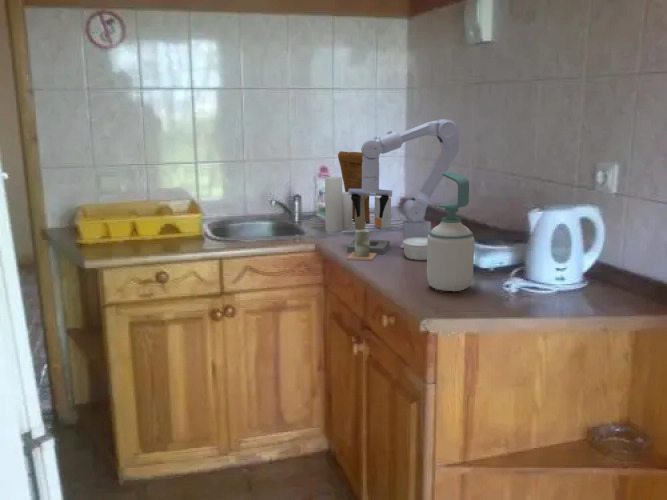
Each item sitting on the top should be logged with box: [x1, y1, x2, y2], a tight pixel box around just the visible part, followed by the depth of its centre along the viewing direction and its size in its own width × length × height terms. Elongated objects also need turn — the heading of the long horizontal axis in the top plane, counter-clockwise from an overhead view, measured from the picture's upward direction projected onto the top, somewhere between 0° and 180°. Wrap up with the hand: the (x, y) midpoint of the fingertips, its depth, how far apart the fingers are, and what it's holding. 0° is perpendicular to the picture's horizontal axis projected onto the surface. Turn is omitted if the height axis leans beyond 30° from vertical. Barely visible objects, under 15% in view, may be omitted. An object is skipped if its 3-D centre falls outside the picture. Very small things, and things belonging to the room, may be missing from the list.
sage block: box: [354, 228, 371, 257], centre depth 219 cm, size 4×4×8 cm
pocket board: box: [346, 239, 391, 255], centre depth 230 cm, size 12×12×2 cm
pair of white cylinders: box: [324, 176, 354, 233], centre depth 261 cm, size 11×7×20 cm, turn 135°
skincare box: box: [374, 196, 392, 230], centre depth 265 cm, size 6×4×12 cm
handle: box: [351, 193, 368, 231], centre depth 253 cm, size 5×6×15 cm
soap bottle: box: [426, 170, 475, 290], centre depth 182 cm, size 12×12×31 cm
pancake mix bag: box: [337, 151, 371, 223], centre depth 277 cm, size 7×19×28 cm, turn 32°
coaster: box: [346, 252, 378, 262], centre depth 220 cm, size 8×8×1 cm
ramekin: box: [402, 237, 428, 261], centre depth 219 cm, size 11×11×5 cm
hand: (369, 217), depth 231 cm, fingers open, 7 cm apart
